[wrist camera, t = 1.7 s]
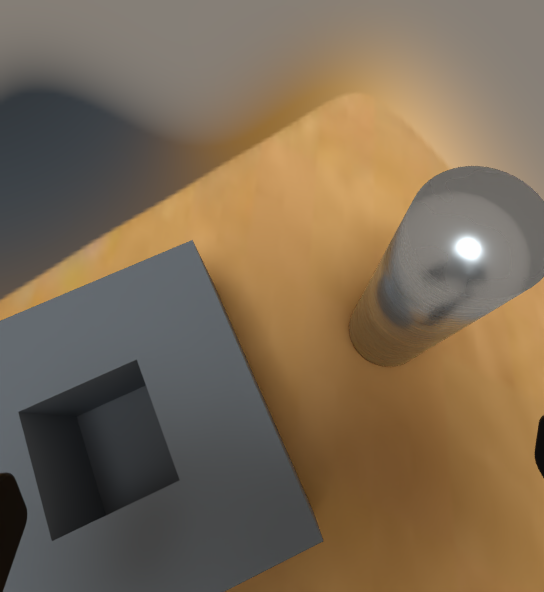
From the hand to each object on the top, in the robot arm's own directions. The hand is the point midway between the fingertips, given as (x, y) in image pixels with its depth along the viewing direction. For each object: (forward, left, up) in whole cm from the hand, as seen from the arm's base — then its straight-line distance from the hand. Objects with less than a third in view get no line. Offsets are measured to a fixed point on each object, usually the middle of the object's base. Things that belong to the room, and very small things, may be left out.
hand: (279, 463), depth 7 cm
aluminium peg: (+3, -8, -15) cm, 17 cm away
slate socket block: (+3, +6, -15) cm, 17 cm away
